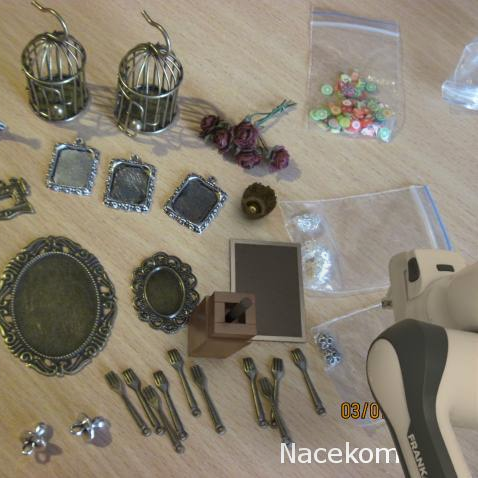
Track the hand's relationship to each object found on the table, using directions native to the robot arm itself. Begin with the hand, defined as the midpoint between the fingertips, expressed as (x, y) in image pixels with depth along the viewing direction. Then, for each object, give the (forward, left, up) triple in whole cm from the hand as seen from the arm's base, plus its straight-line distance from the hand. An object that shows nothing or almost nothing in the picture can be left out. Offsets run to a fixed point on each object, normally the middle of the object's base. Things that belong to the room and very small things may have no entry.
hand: (389, 336), depth 79 cm
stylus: (+5, +20, -17) cm, 27 cm away
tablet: (+16, +7, -37) cm, 41 cm away
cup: (+34, +10, -37) cm, 51 cm away
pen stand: (+5, +20, -37) cm, 42 cm away
